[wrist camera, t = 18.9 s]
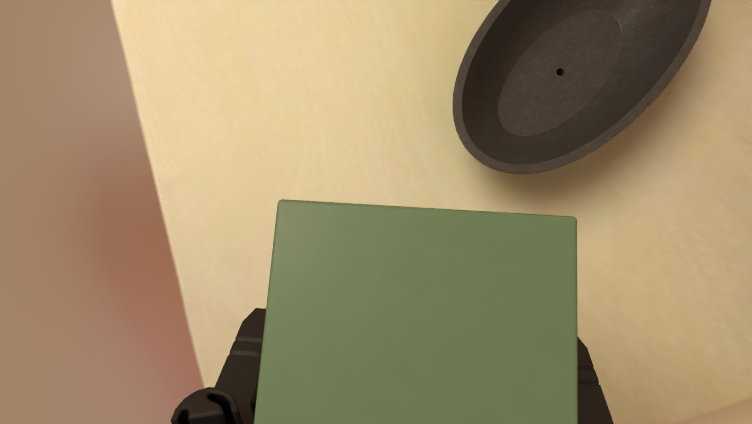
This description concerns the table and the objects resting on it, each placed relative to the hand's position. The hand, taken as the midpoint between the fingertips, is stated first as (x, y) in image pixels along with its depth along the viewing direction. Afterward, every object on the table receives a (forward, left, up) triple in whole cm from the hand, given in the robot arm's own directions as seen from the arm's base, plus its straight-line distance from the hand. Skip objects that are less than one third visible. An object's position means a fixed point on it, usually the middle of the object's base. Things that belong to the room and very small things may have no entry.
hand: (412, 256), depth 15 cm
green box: (-3, -2, -3) cm, 5 cm away
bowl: (+19, -1, -20) cm, 28 cm away
